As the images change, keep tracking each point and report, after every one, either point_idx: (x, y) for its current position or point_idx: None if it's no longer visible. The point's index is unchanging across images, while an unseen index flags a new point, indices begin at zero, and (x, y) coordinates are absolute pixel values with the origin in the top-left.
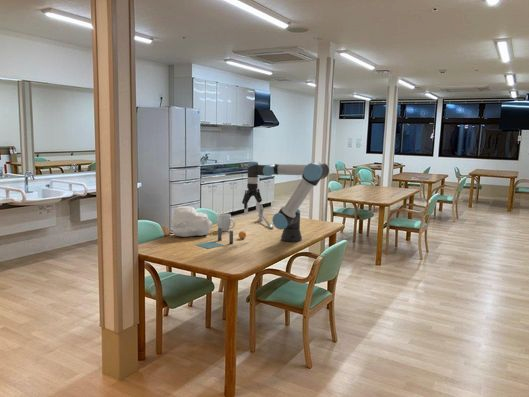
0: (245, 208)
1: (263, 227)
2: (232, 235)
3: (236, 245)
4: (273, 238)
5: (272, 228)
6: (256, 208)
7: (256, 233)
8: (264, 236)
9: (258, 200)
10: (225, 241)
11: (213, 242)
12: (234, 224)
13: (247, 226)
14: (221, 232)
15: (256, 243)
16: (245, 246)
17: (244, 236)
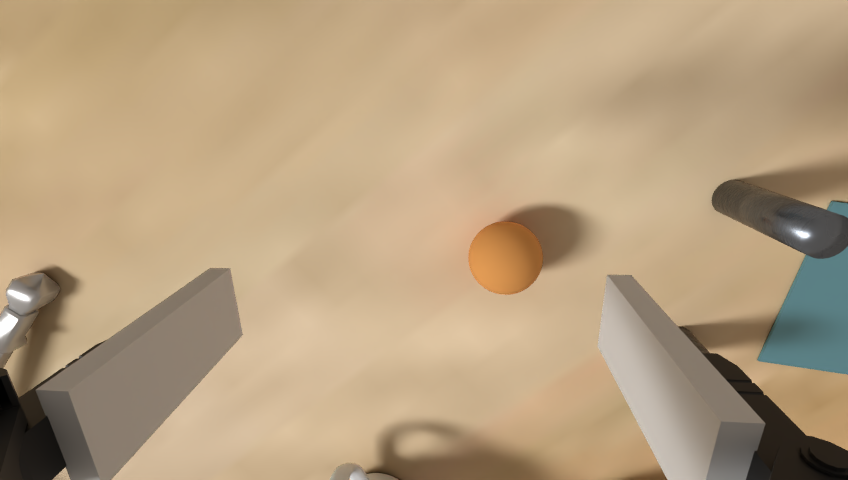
0: (725, 365)
1: (67, 361)
2: (796, 200)
3: (776, 108)
4: (291, 19)
5: (38, 273)
6: (214, 352)
7: (262, 275)
8: (294, 148)
9: (11, 466)
10: (682, 285)
11: (784, 328)
12: (337, 478)
13: (148, 459)
14: None
15: (586, 6)
16: (771, 4)
17: (513, 222)
